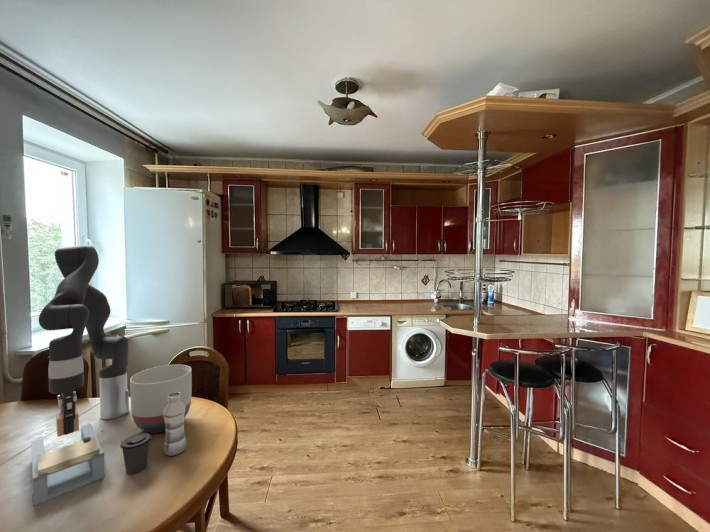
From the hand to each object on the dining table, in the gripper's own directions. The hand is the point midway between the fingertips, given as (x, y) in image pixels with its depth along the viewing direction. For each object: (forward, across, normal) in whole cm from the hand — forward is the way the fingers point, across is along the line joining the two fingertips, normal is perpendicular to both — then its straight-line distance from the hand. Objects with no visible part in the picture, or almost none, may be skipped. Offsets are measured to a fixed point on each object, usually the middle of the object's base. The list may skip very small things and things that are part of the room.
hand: (68, 429), depth 91 cm
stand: (+16, +9, 0) cm, 18 cm away
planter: (+16, +14, -28) cm, 35 cm away
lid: (+9, +1, 0) cm, 9 cm away
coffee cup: (+16, -8, -15) cm, 23 cm away
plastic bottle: (+16, -8, -26) cm, 32 cm away
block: (0, 0, 0) cm, 0 cm away
